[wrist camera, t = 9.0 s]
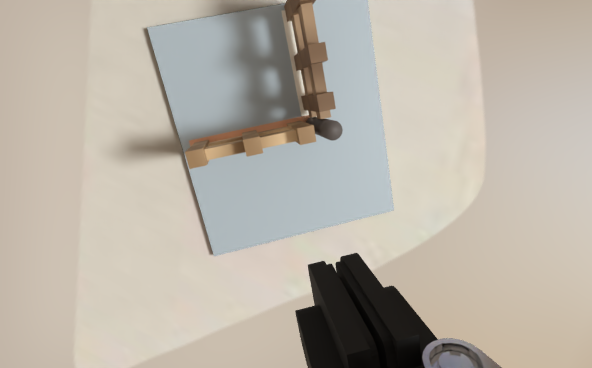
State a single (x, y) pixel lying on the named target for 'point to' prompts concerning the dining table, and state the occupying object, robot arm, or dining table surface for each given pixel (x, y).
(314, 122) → the fence fixed
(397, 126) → the dining table surface
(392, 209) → the card
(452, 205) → the dining table surface
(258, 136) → the fence fold
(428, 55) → the dining table surface
